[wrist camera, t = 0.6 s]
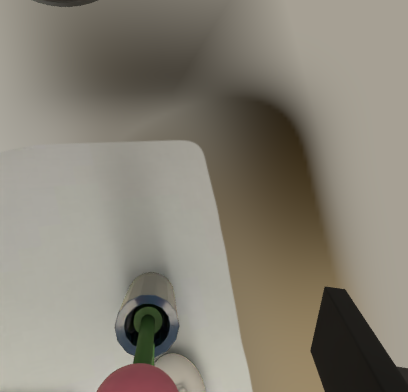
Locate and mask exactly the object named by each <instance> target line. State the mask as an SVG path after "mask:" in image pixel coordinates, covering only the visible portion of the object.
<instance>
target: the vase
mask: <svg viewBox="0 0 408 392" xmlns="http://www.w3.org/2000/svg"><path fill="white" fill-rule="evenodd" d="M142 304H154V305H156V306H158V307H160V308H162V326H161V328H160V330H159V331H158V332H157V333H155V334H154V341H153V343H155V353H154V358H155V357H157V356H159V355H161V354H163V353H165V352H166V351H167V350H168V349H169V348H170V347H171V345H172V344H173V343H174V342H175V340H176V338H177V334H178V329H179V320H178V314H177V307H176V301H175V295H174V290H173V286H172V284H171V282H170V281H169V280H168V279H167V278H166V277H165V276H163V275H162V274H159V273H155V272H148V273H144V274H142V275H140V276H138V277H137V278H136V279H135V280H134V281H133V282H132V283H131V285H130V286H129V288H128V291H127V293H126V296H125V298H124V300H123V303H122V305H121V308H120V310H119V312H118V316H117V320H116V324H115V331H116V336H117V341H118V342H119V343H120V345H121V346H122V347H123V348H124V350H125V351H126V352H127V353H129V354H131V355H133V356H135V352H136V345H137V341H138V335H139V333H138V332H137V331H136V329H135V328H134V324H133V319H134V315H135V311H136V308H137V307H138V306H140V305H142Z"/></svg>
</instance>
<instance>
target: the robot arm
mask: <svg viewBox="0 0 408 392" xmlns="http://www.w3.org/2000/svg"><path fill="white" fill-rule="evenodd" d="M311 353H312V356H313V359H314V362H315V365H316V367H317V370H318V373H319V376H320V379H321V382H322V385H323V388H324V390H325V392H408V368H402V367H396V365H395V364H394V363H393V361H392V360H391V358H390V356H389V355H388V354H387V352H386V350H385V349H384V347H383V346H382V344H381V343H380V341H379V340H378V338H377V337H376V335H375V334H374V332H373V331H372V329H371V328H370V327H369V325H368V323H367V322H366V320H365V319H364V317H363V316H362V314H361V313H360V311H359V310H358V308H357V307H356V305H355V304H354V302H353V301H352V299H351V298H350V296H349V295H348V293H347V292H346V290H345V289H339V288H331V287H325V288H324V292H323V297H322V301H321V306H320V310H319V315H318V319H317V323H316V328H315V332H314V337H313V342H312V346H311Z"/></svg>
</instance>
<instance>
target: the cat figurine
mask: <svg viewBox="0 0 408 392" xmlns="http://www.w3.org/2000/svg"><path fill="white" fill-rule="evenodd" d="M154 366H155V367H158V368H160V369H161V370H163V371H164V372H165V373H166V374H168V375H169V376H170V378H171V379H172V380H173V382H174V383H175V385H176V387H177V389H178V391H179V392H206V391H205V386H204V383H203V380H202V377H201V375H200V373H199V371H198V370H197V368H196V367H195V366H194V364H193V363H192V362H191V361H189V360H188V359H187V358H185V357H184V356H182V355H179V354H175V353H169V354H166V355H164V356H162V357H161V358H159V359H158V360H157V362H156V363H155V364H154Z"/></svg>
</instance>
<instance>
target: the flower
mask: <svg viewBox="0 0 408 392" xmlns="http://www.w3.org/2000/svg"><path fill="white" fill-rule="evenodd" d="M133 324H134V328H135V329H136V331H137V332H138V333H139V335H138V341H137V345H136V352H135V357H134V362H133V364H130V365H127V366H124V367H121V368H119V369H117V370H116V371H114V372H113V373H112V374H110V375H109V376H108V377H107V378H106V379H105V380H104V381H103V383H102V384H101V385H100V387H99V388H98V390H97V392H179V391H178V389H177V387H176V385H175V383H174V382H173V380H172V379H171V378H170V376H169V375H168V374H166V373H165V372H164V371H163V370H161V369H160V368H158V367H155V366H154V353H155V343H153V341H154V334H155V333H157V332H158V331H159V330H160V328H161V326H162V308H160V307H158V306H156V305H154V304H142V305H140V306H138V307H137V308H136V311H135V315H134V319H133Z"/></svg>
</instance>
